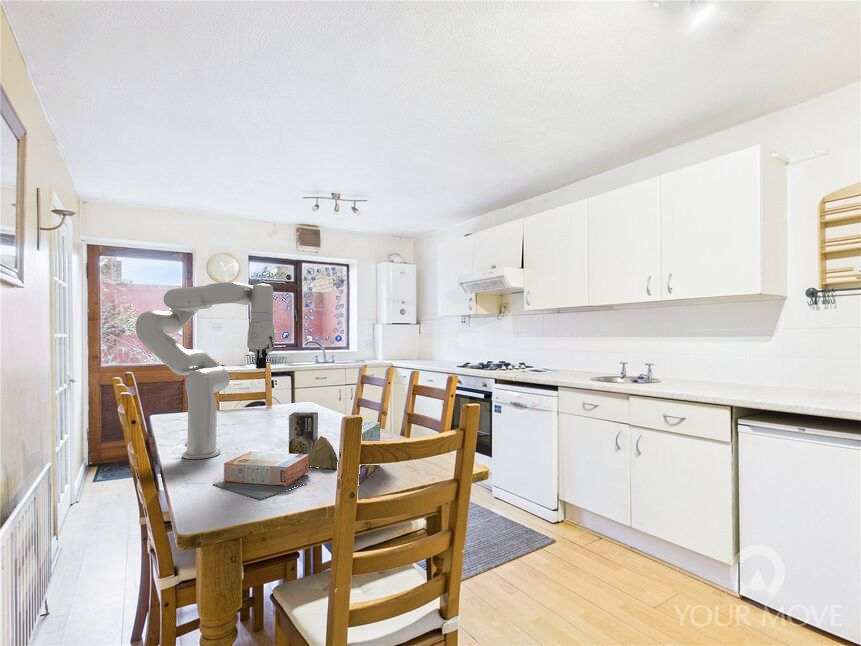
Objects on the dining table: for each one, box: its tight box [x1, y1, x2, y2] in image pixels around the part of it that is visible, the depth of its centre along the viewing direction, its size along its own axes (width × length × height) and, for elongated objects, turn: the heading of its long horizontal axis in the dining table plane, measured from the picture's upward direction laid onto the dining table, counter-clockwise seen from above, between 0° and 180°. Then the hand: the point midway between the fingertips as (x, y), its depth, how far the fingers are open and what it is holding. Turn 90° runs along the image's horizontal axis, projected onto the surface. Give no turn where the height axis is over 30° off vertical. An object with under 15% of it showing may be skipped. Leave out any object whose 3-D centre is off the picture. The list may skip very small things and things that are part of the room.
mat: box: [212, 479, 307, 501], centre depth 135 cm, size 22×16×1 cm
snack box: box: [359, 421, 382, 484], centre depth 146 cm, size 21×6×15 cm, turn 170°
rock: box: [309, 435, 339, 470], centre depth 153 cm, size 11×9×10 cm
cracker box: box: [223, 450, 310, 486], centre depth 140 cm, size 14×6×21 cm
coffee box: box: [288, 411, 319, 455], centre depth 164 cm, size 9×6×16 cm
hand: (261, 368), depth 166 cm, fingers closed
